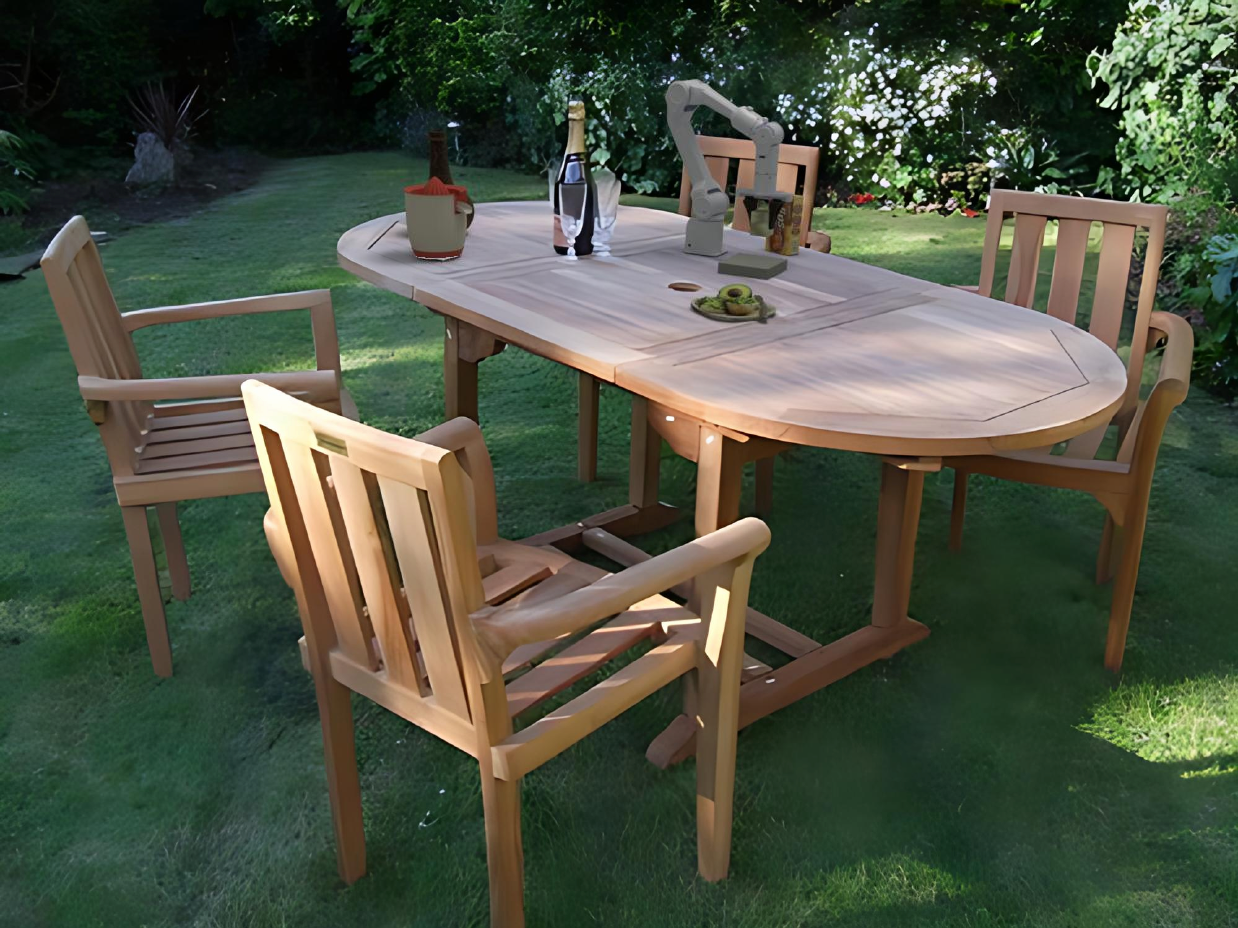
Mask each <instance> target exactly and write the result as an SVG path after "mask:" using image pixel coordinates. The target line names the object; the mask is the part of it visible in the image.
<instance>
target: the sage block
mask: <svg viewBox="0 0 1238 928" xmlns="http://www.w3.org/2000/svg"><path fill="white" fill-rule="evenodd" d="M749 228H750V230H749V236H753V237H762V238H766V237H768V236H770V235H773V229H772V230H769V210H768V209H763V208H757V210H754V211H751V227H750V226H749Z"/></svg>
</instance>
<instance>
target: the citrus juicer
mask: <svg viewBox="0 0 1238 928" xmlns="http://www.w3.org/2000/svg"><path fill="white" fill-rule="evenodd" d="M402 191H403V192H404V203H405V204H404V205H405V219H406V220H405V222H406V223H405V224H406V232H407V236H408V237H407V238H408V241H409V243H410V247H411V250H412V252H413V254H414V256H415V257H416V256H417V257H425V258H446V257H454V256H459V255H460V254H461V255H462V253H463V251H464V247H465V242H466V237H467V230H468V229H467V215H466V214H470V213H472V208H471V206H470V205H468V204H467V196H468V189H467V188H466V187H464V186H460V185H455V184H454V185H445V184H443V183H442V182H441V181H440V180H439V179H438V178H437V177H432V178H431V179H430V180H429V179H428V181H427V183H426V184H417V185H410V186H407V187H404V188H403V190H402ZM417 257H416V258H417ZM459 257H460V256H459Z"/></svg>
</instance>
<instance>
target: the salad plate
mask: <svg viewBox="0 0 1238 928" xmlns="http://www.w3.org/2000/svg"><path fill="white" fill-rule="evenodd" d="M690 308H692V309H693V310H694V312H696V313H698V314H701V315H704V316H705V317H708V318H711V319H714V320H718V321H722V322H733V323H734V322H737V323H741V322H742V323H743V322H748V321H749V322H750V321H761V320H763V319H768V318H769V316H771V315H774V314H775V313H776V312H777V307H776V306H775V305H772V304H769V303H767V302H765V301H764V298H763V296H762V295H759V294H754V295H753V291H752V289H751V287H749V286H748V285H745V284H742V283H740V284H739V283H738V284H737V283H736V284H730V285H726V286H723V287H722V288H720V289H719V290H718V293H717V294H716V296H707V295H705V296H704V297H697V298H696V297H695V298H694V299H692V300H691V301H690Z"/></svg>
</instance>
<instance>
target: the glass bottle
mask: <svg viewBox="0 0 1238 928" xmlns="http://www.w3.org/2000/svg"><path fill="white" fill-rule="evenodd" d="M446 132H447V131H446V130H443V129H430V130H429V131H428V134H429V136H427V137H426V138H425V139H426V140H427V141H429V175H428V176H429V177H428V181H429V180H430V179H431V178H432V177H437V178H438V179H439V180H440V181H441V182H442V183H443V184H445V185H455V184H454V181H453V178H452V174H451V170H450V165H449V159H448V158H449V156H448V149H447V138H448V136H447V135H446V134H447V133H446ZM467 204H468V205H470V206H471V208H472V213H470V214H466V215H467V230H468V229H469V228H470V226H471V225H472V223H473V221H474V217H475V206H474V203H473V200H472V199H471V197H470V196H468V195H467Z"/></svg>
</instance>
